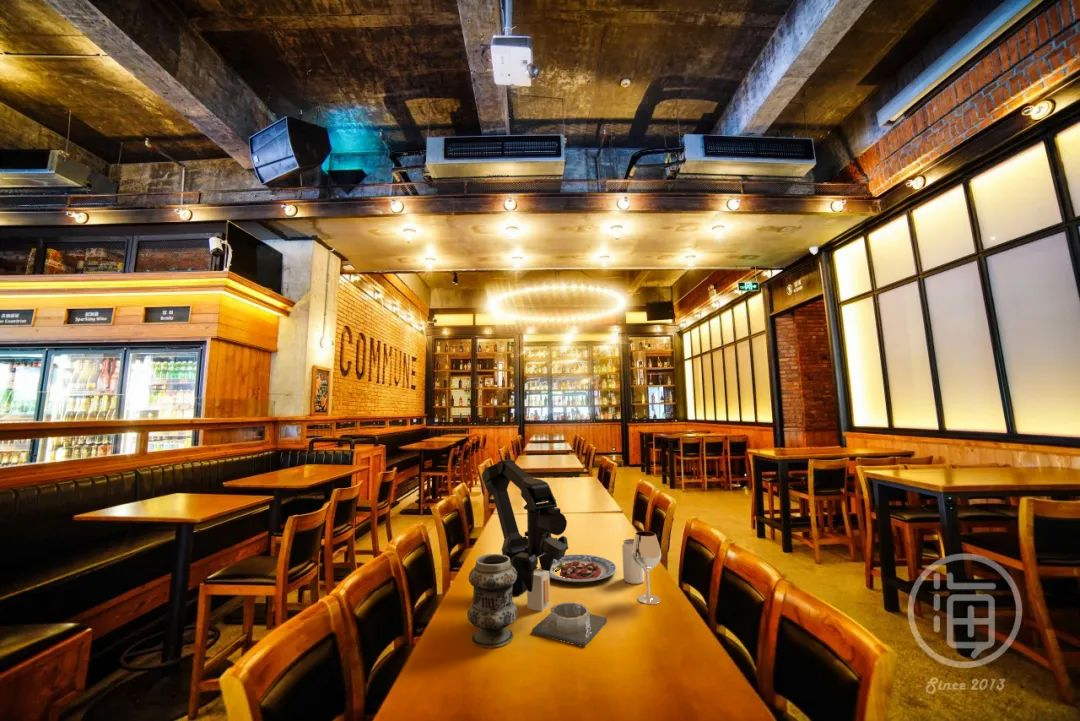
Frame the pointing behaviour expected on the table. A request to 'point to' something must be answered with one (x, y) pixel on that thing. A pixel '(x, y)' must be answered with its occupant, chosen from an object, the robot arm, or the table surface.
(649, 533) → the wineglass
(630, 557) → the can
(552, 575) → the ceramic plate
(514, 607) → the apothecary jar
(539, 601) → the white block
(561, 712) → the table surface
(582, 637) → the duct collar
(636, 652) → the table surface
